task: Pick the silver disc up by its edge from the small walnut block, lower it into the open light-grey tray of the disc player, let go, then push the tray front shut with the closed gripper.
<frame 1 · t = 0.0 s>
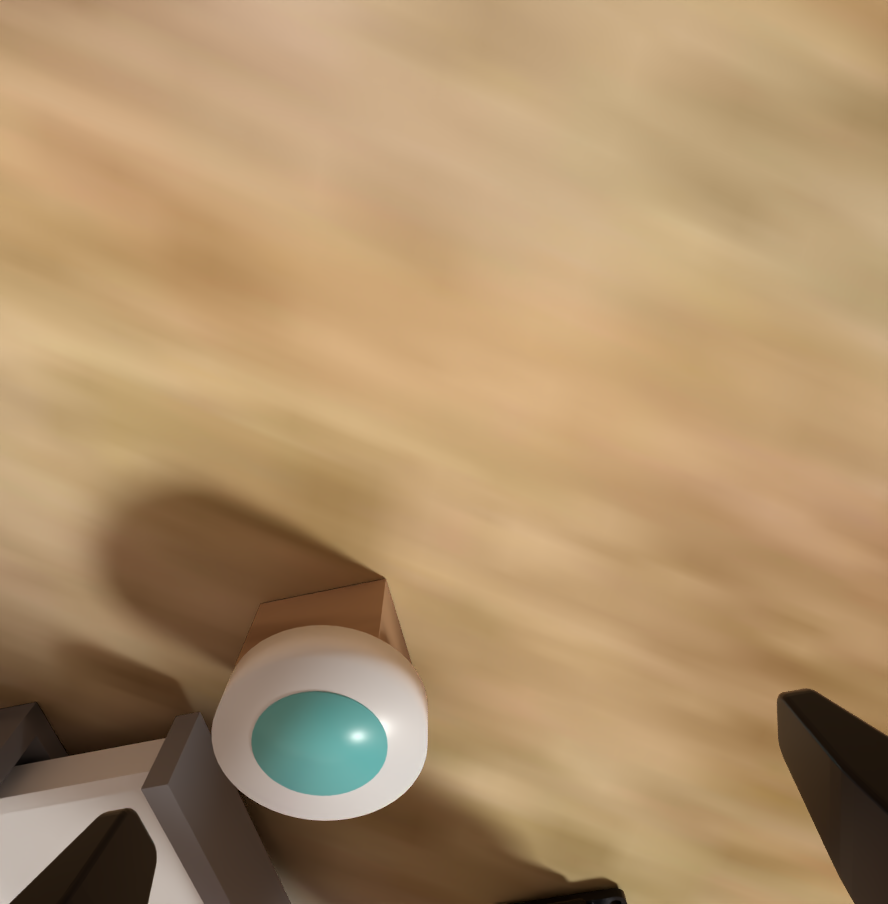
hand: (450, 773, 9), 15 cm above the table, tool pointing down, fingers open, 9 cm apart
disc: (327, 707, 23), point 3 cm above the table, touching block
block: (340, 643, 26), on the table
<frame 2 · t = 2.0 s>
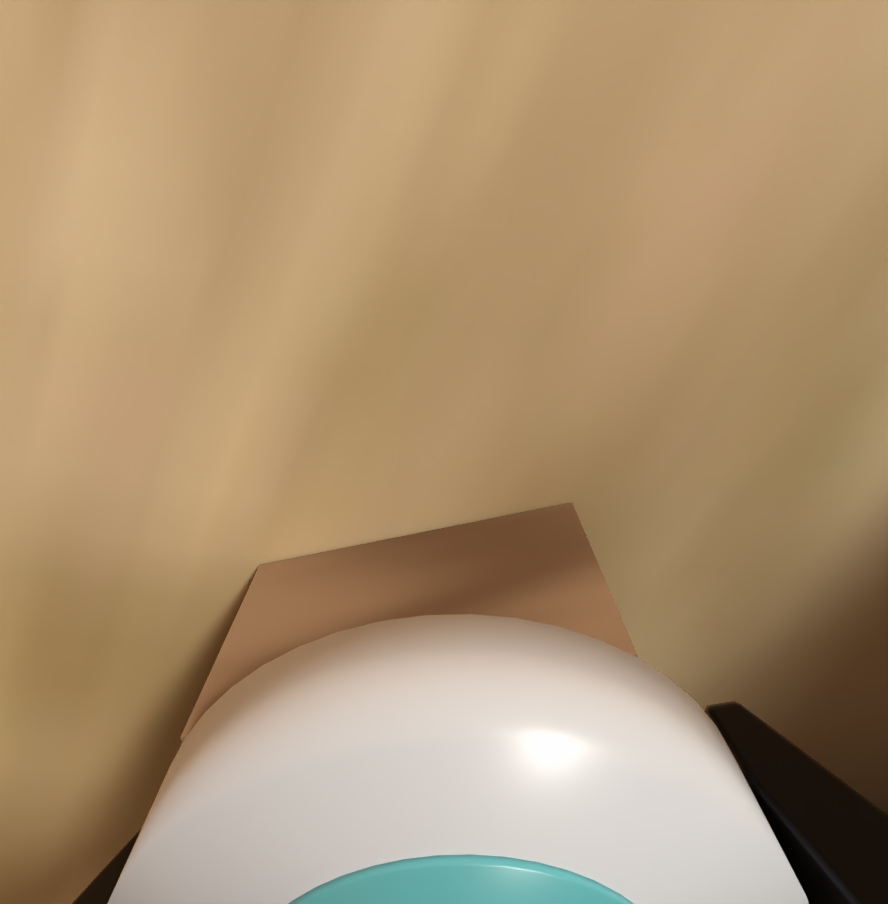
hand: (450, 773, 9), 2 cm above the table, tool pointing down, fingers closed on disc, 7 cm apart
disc: (453, 855, 8), point 4 cm above the table, touching block, gripper
block: (447, 660, 11), on the table
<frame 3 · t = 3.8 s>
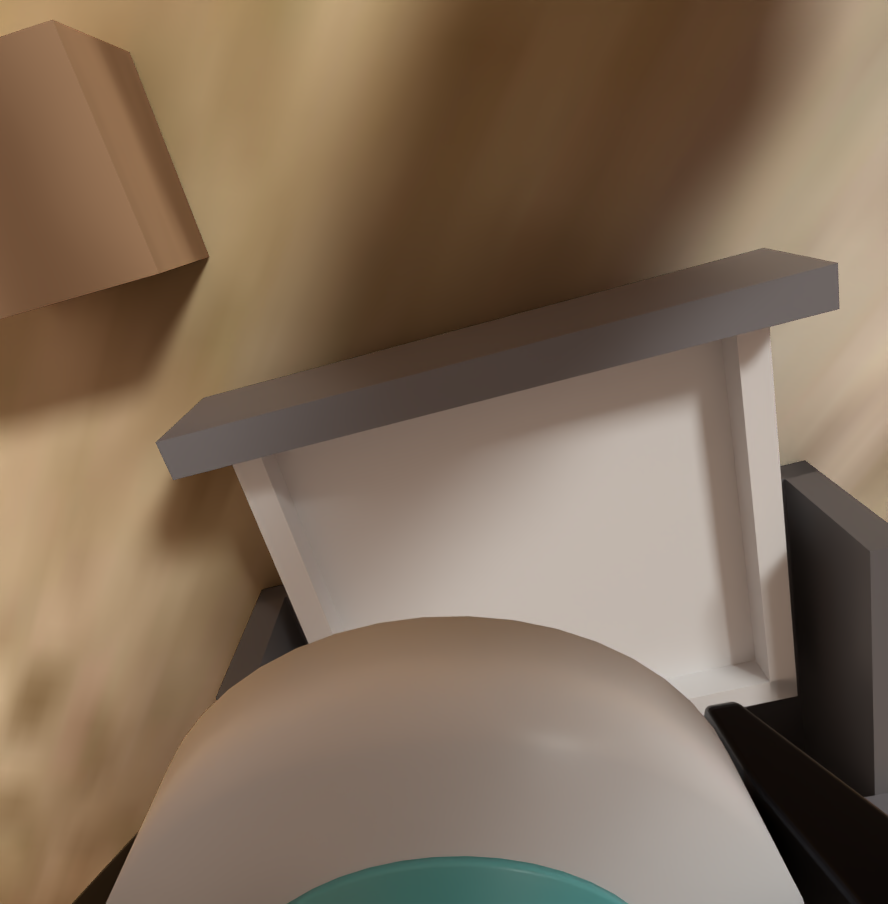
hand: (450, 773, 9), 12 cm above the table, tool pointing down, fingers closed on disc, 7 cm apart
tray: (533, 566, 19), point 3 cm above the table, slide at 6.0 cm
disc: (450, 856, 8), point 13 cm above the table, touching gripper
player: (564, 690, 24), on the table
block: (82, 186, 17), on the table
when the fingers open (3 cm above the table, at t = 5.9 s): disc drops 2 cm, resting on tray.
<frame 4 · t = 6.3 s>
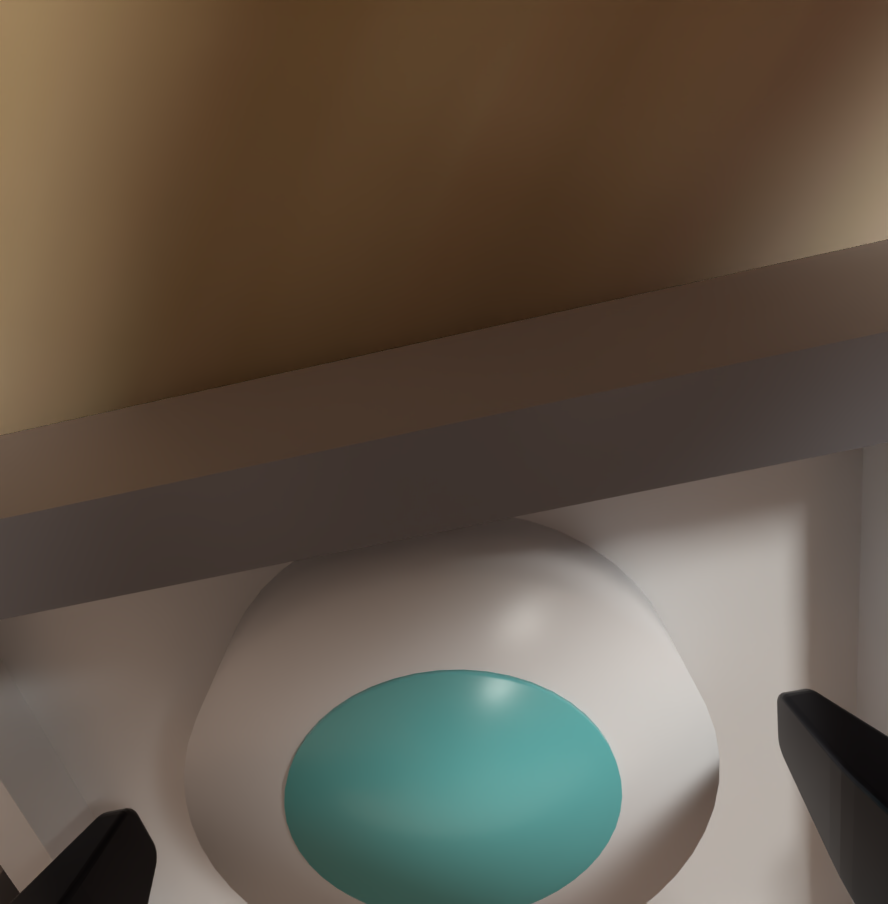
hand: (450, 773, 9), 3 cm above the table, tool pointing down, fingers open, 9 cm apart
tray: (467, 818, 10), point 3 cm above the table, slide at 6.0 cm, touching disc
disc: (450, 712, 10), point 2 cm above the table, touching tray
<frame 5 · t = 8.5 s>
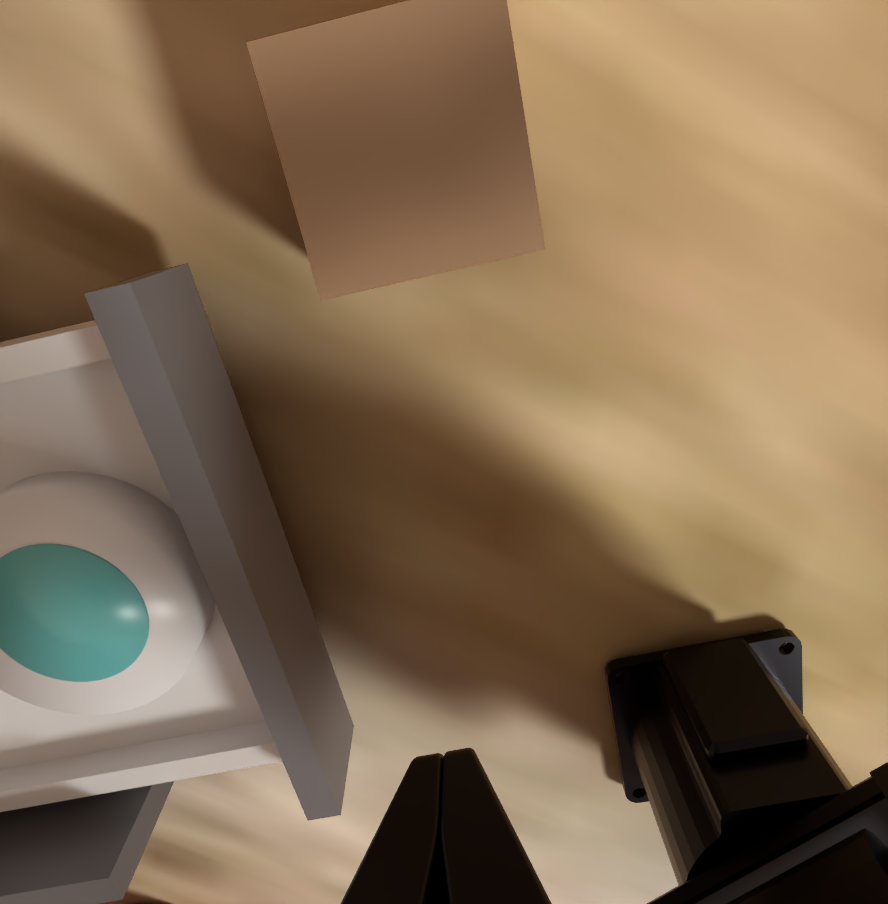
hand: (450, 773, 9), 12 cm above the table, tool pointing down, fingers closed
tray: (38, 606, 18), point 3 cm above the table, slide at 6.0 cm, touching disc
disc: (94, 580, 19), point 2 cm above the table, touching tray
block: (409, 157, 17), on the table
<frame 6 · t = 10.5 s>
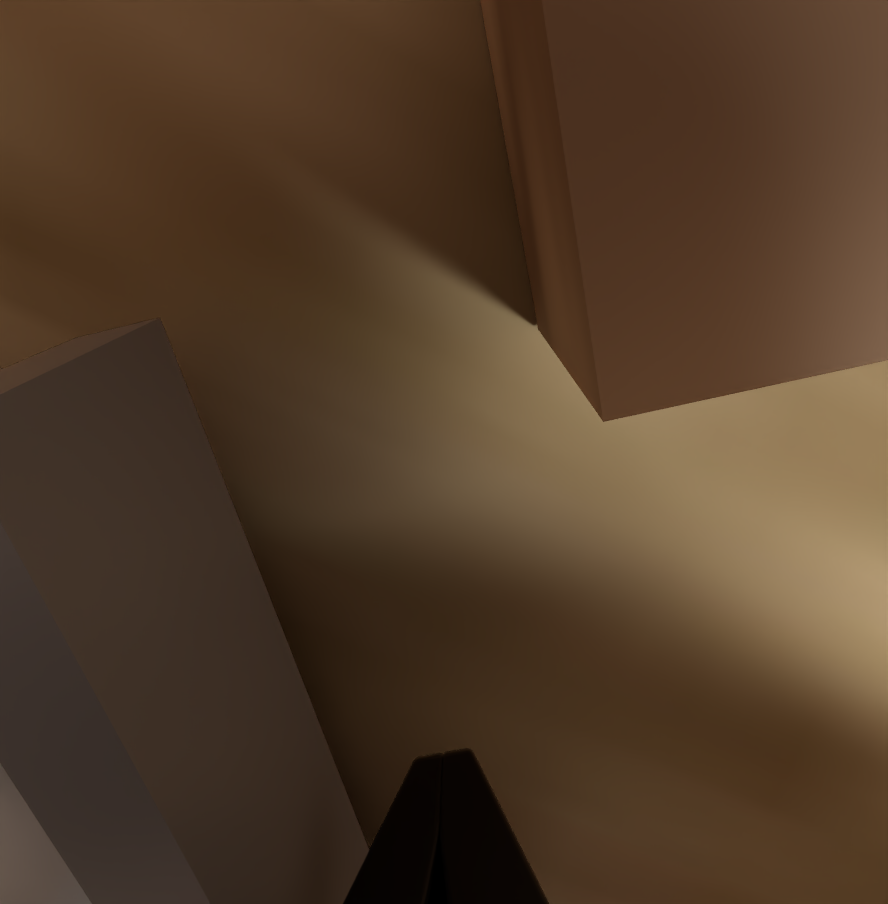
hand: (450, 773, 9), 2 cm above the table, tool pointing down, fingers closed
block: (724, 56, 7), on the table
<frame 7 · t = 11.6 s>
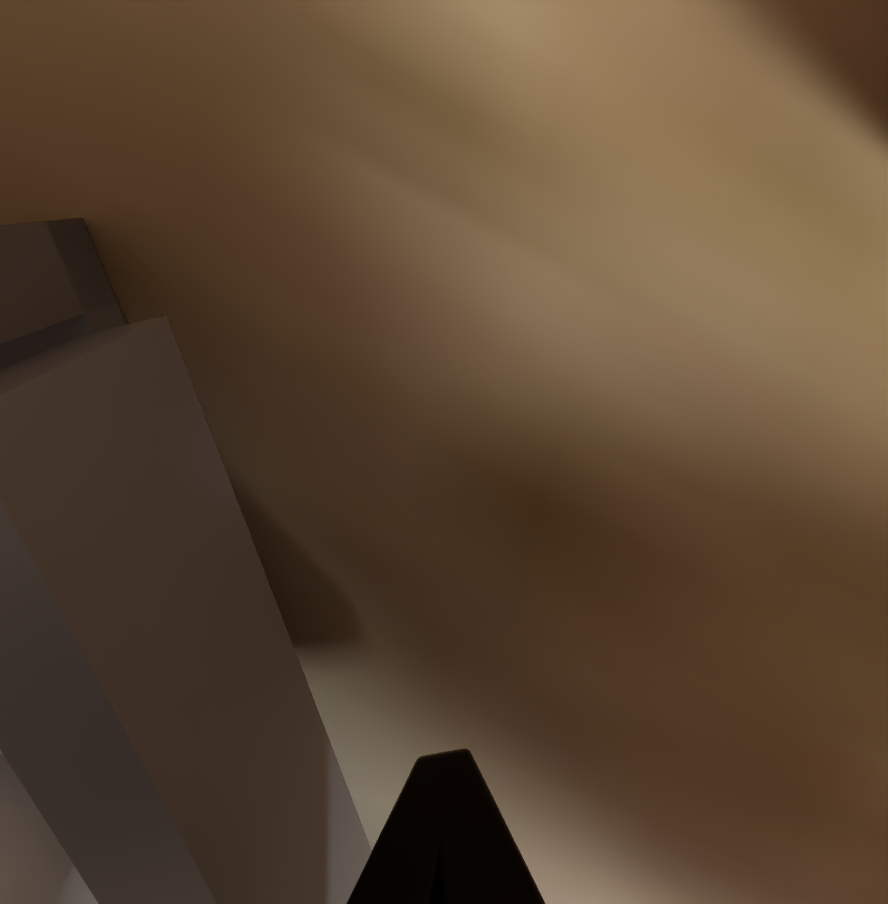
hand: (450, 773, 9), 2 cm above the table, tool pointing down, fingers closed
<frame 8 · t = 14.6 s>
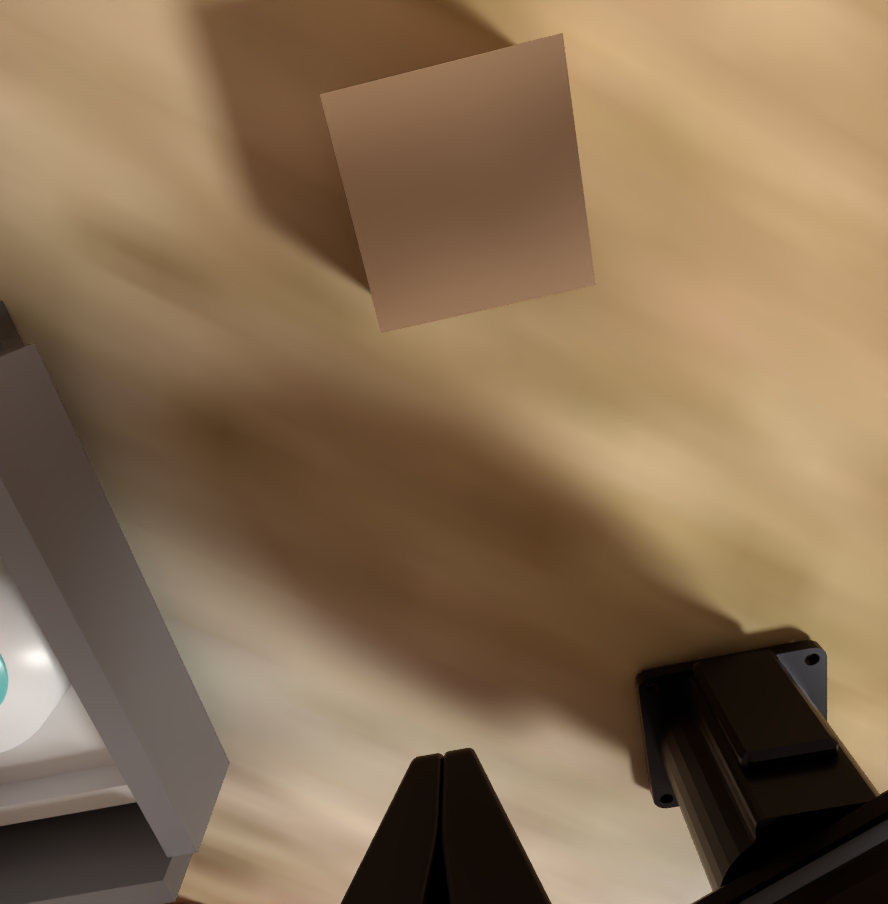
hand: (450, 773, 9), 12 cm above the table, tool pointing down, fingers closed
block: (459, 192, 17), on the table
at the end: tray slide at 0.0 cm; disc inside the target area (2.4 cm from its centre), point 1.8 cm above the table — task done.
